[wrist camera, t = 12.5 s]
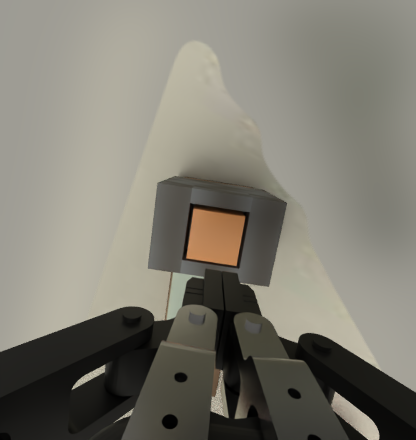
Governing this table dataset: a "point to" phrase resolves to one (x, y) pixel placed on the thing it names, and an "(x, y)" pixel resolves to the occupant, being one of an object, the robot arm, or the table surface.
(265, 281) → the rail
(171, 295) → the mint plate with knob
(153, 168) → the table surface
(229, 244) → the button
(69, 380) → the robot arm
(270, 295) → the table surface
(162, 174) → the table surface
